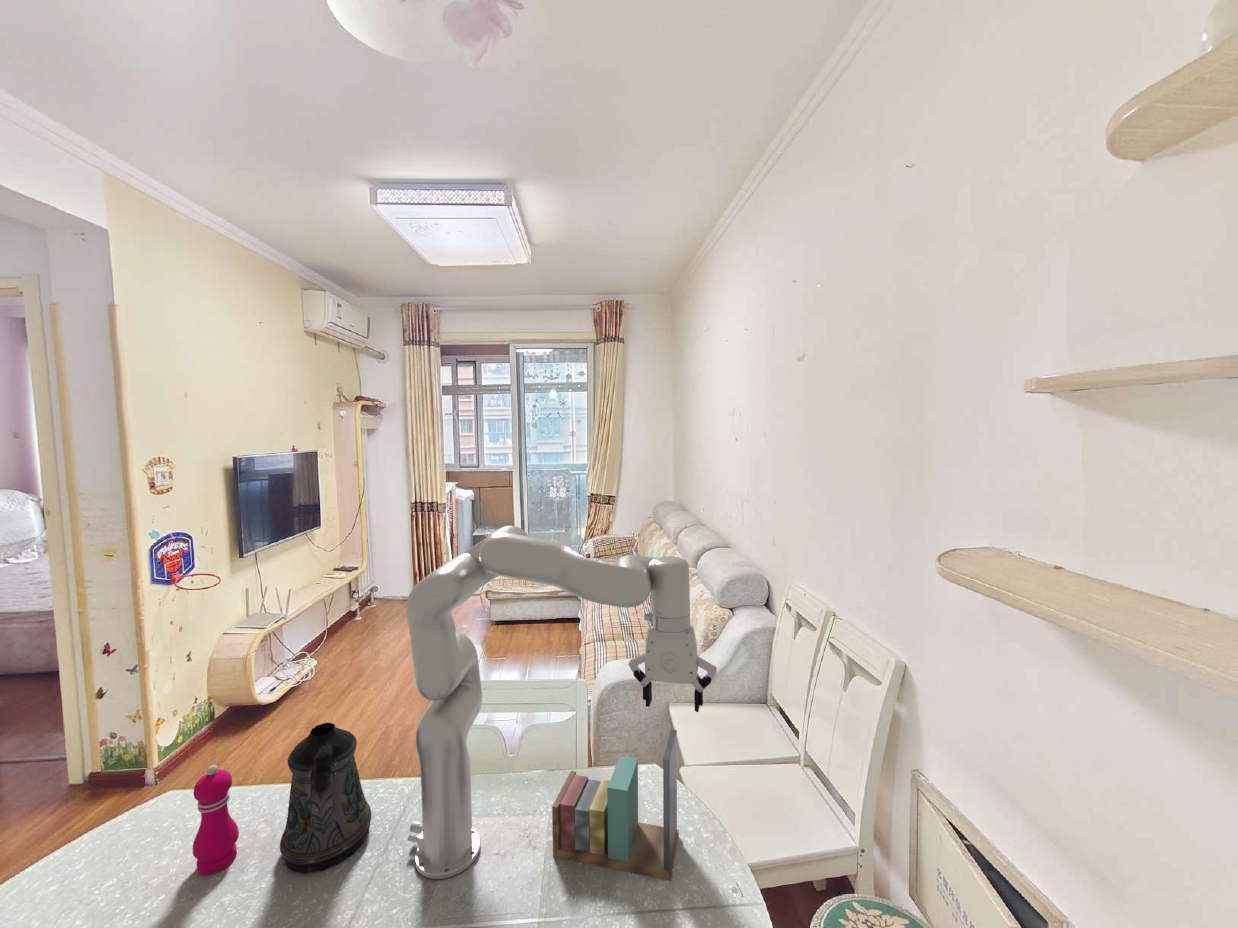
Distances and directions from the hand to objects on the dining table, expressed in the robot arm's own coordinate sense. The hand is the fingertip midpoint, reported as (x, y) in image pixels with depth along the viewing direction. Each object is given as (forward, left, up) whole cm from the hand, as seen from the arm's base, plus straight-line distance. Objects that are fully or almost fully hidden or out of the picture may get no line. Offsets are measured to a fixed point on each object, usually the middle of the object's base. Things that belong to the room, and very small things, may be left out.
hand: (672, 705), depth 99 cm
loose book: (-10, 0, -30) cm, 32 cm away
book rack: (-12, 0, -31) cm, 33 cm away
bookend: (-1, 0, -30) cm, 30 cm away
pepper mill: (-89, -23, -32) cm, 97 cm away
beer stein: (-70, -14, -32) cm, 78 cm away
